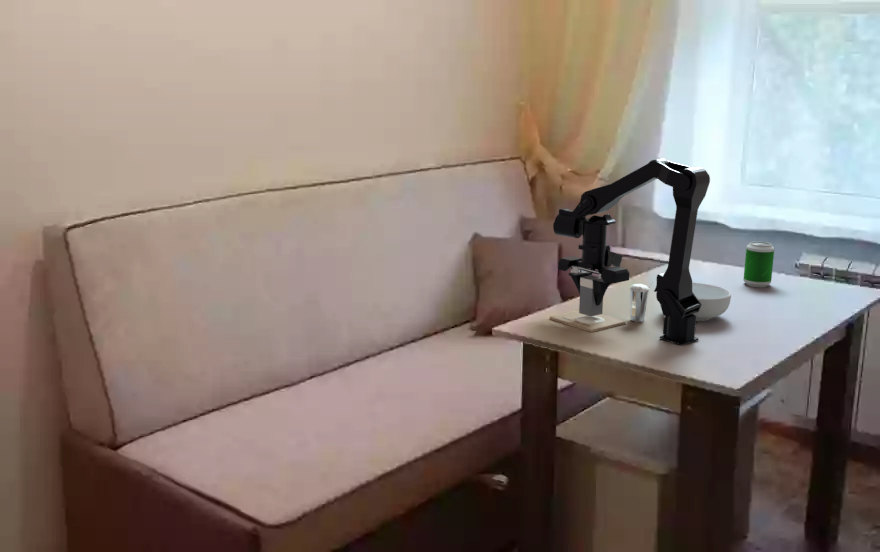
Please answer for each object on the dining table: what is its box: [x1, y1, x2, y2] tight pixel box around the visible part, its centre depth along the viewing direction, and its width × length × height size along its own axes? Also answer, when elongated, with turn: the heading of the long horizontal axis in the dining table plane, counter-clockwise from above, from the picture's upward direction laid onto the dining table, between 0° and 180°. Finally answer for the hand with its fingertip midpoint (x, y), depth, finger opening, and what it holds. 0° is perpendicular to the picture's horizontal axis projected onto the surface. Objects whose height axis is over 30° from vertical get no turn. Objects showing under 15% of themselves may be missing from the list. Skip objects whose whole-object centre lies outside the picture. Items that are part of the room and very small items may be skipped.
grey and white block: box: [578, 274, 604, 316], centre depth 235 cm, size 4×4×9 cm
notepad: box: [549, 309, 626, 333], centre depth 235 cm, size 14×12×1 cm
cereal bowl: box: [692, 281, 732, 322], centre depth 240 cm, size 17×17×7 cm
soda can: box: [742, 241, 775, 288], centre depth 272 cm, size 8×8×12 cm
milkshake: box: [629, 281, 654, 323], centre depth 235 cm, size 4×5×10 cm
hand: (591, 303), depth 236 cm, fingers closed on grey and white block, 4 cm apart
